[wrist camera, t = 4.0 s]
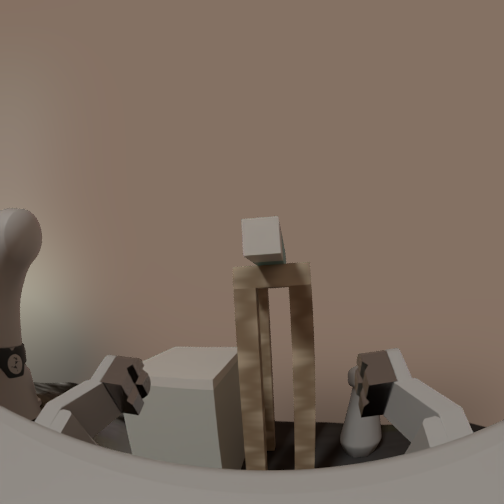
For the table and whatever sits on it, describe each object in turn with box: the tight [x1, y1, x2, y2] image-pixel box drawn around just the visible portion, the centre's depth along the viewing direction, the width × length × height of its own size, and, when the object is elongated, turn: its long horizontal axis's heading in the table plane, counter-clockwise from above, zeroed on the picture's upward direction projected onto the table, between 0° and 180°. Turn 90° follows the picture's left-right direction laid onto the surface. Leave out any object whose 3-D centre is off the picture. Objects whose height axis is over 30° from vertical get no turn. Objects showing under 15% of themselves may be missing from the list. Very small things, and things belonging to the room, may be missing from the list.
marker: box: [241, 216, 286, 266], centre depth 29 cm, size 2×20×2 cm, turn 172°
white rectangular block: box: [124, 347, 245, 470], centre depth 32 cm, size 10×16×16 cm, turn 173°
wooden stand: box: [233, 262, 315, 470], centre depth 32 cm, size 7×14×26 cm, turn 172°
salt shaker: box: [340, 366, 382, 458], centre depth 33 cm, size 6×6×13 cm
